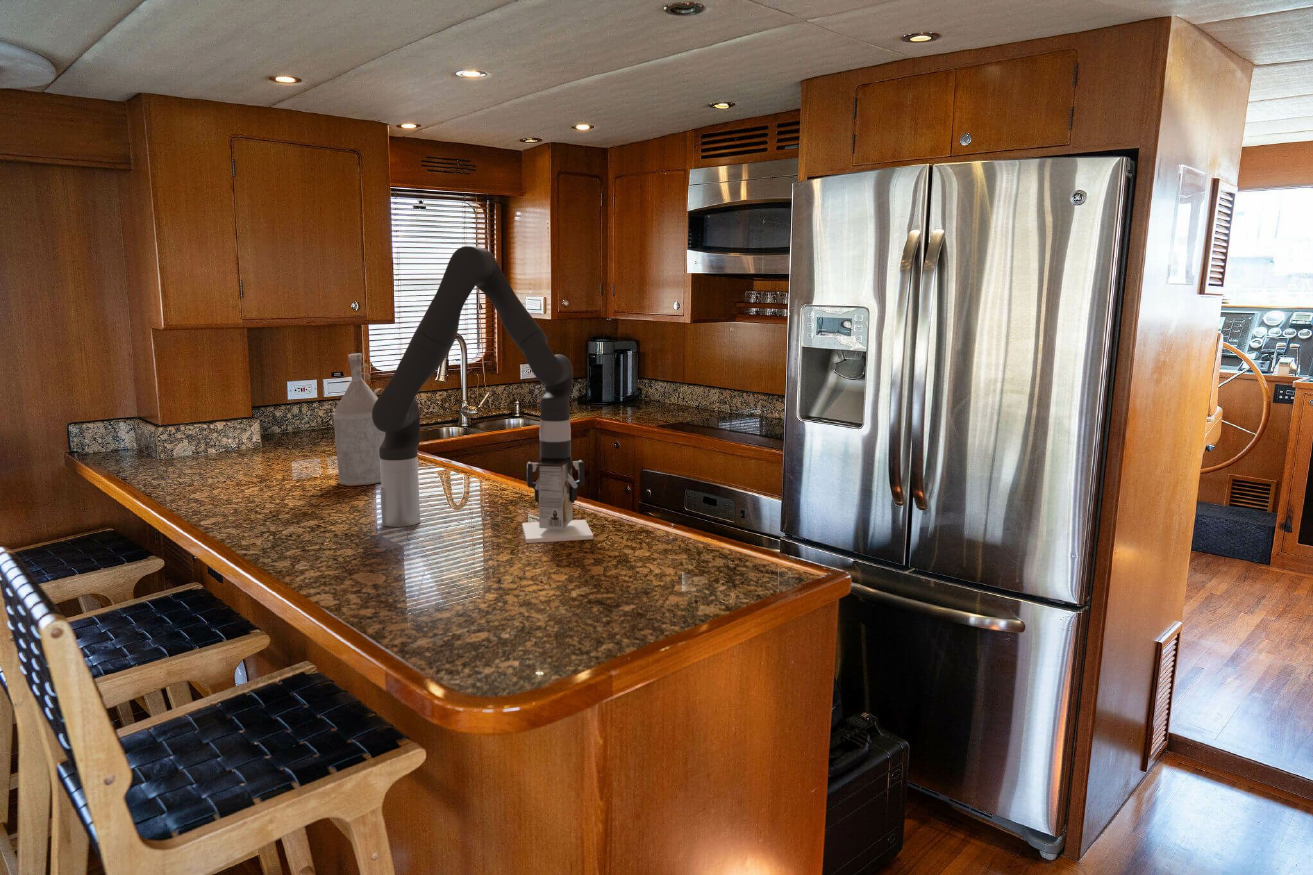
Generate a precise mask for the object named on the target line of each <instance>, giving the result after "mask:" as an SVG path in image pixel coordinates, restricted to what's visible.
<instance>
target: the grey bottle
mask: <svg viewBox="0 0 1313 875" xmlns="http://www.w3.org/2000/svg"><path fill="white" fill-rule="evenodd" d="M347 356H348V360H347V361H348V362H349V366H350V374H351V381H350V383H349V385H348V387H347V388H346V390H345V392H344V394H343V395H342V397H341V399H340V401H339V402H338V404H337V406H336V408H335V410H334V411H333V412H332V415H333V425H334V426H333V428H334V437H335V448H336V457H337V458H336V460H337V470H338V472H337V473H338V483H339V484H340V485H341V486H342V485H343V486H347V487H350V486H351V487H352V486H353V487H355V486H367V485H368V486H369V485H372V484H377V483H378V484H380V483H381V474H380V456H379V449H380V446H381V445H382V443H383V441H384V439H385V432H382V431H380V430H379V429H377V428H376V426H375V425H374V423H373V419H372V410H373V406H374V404H375V402H376V401H377V399H378V398H379V396H378V395H377V393H378V392H379V391H380V390H382V392H383V391H384V389H385V388H376V389H374V391H373V390H372V389H371V388H370V387H369V385H368V384H367V383H366V382H365V380H364V379H363V375H365V378H366V379H367V381H369V380H370V379H371V374H369V372H368V371H369V370H368V368H369V364H368V363H364V364H362V363H363V360H362V358H363V353H360V352H359V353H351V354H350V353H349V354H348V355H347ZM364 367H367V368H366V372H362V368H364Z"/></svg>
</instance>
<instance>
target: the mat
mask: <svg viewBox="0 0 1313 875" xmlns="http://www.w3.org/2000/svg"><path fill="white" fill-rule="evenodd" d="M521 525H522V527H521V528H522V532H523V535H524V539H525V543H526V544H531V543H532V544H534V543H536V544H537V543H549V542H566V541H568V542H569V541H582V540H586V541H587V540H594V534H593V532H592V530H591V528H590V526H589V524H588V522H587V520H586V519H572V520H571V521H570V523H569V524H568V525H567V526H566V527H565V528H564V529H548V528H539V521H535V522H523V523H522V524H521Z"/></svg>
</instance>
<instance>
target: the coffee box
mask: <svg viewBox="0 0 1313 875" xmlns="http://www.w3.org/2000/svg"><path fill="white" fill-rule="evenodd" d="M571 460H572V461H573V457H571ZM537 468H538V472H537V473H538V478H539V505H538V522H539V528H548V529H564V528H565V527H566V526H567V525H568V524H569V523H570V521H571V520H574V519H573V516H574V515H573V514H574V513H573V508H574V507H573V503H571V484H570V483H569V482H568V473H569V474H570V475H571V477H572V478H573V467H572V468H571V470H570V471H569V470H568V461H553V462H541V463H539V464H538V467H537Z"/></svg>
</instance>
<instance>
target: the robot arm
mask: <svg viewBox="0 0 1313 875" xmlns="http://www.w3.org/2000/svg"><path fill="white" fill-rule="evenodd" d="M475 287H476V288H477V289H479V290H480V291H481V292H482V293H483V294H484V295H485V296H486V297H487V298H488V300H489V301H490V302H491V304H492V305H493V307H494V309H495V310H496V312H497V315H498V316H499V319H500V321H501V323H502V326H503V328H504V329H505V331H506V333H507V334H508V335H509V337H510V338H511V339H512V341H513V342H514V343H515V345H516V346H517V348H518V349H519V350H520V351H521V352H522V354H523V355H524V358H525V359H526V362H527V364H528V367H530V370H531V372H532V373H533V375H534V377H535V378H536V379H537V380H538V381H539V382H541V384H543V385H545V390H544V394H543V396H542V397H541V398H540V406H539V407H540V408H539V409H540V410H539V412H540V415H539V416H540V420H539V434H538V437H539V461H538V462H532V461H527V463H526V485H527V487H528V488H530V489H533V490H534V492H533V493H534V501H535V503H537V505H538V506H539V477H538V478H537V480H536V481H533V479H534V478H533V476H534V473H533V472H536V471H537V468H538V464H539V463H541V462H553V461H568V470H569V471H570V470H571V468H572V469H573V467H574V468H575V470H576V471H577V473H578V474H577V475H578V476H577V477H578V479H577V480H574V478H573V476H572V477H571V475H570V474H569V473H568V482H569V483H570V484H571V503H572V504H575V502H576V501H578V488H579V487H581V486H582V487H583V486H584V485H585V484H586V483H585V482H586V481H585V462H584V461H583V460H582V459H579V460H574V461H573V459H572V460H571V458H572V440H571V439H572V435H571V434H572V429H571V420H570V418H571V417H570V414H571V413H570V398H571V392H572V386H573V382H574V381H573V380H574V369H573V364H572V362H571V360H570V359H569V358H568V357H567V356H565V355H563V354H554V353H553V351H552V350H551V348H550V346H549V345H548V342H549V339H548V337H547V335H546V334H545V332H544V331H543V329H542V328H541V327H540V326H539V324H538V322H536V320H535V319H534V318H533V316H532V315H531V313H530V312H529V311H528V309H526V307H525V306H524V305H523V303H522V302H521V301H520V299H519V297H518V296H517V294H516V293H515V291H514V290H513V288H512V287H511V285H510V283H509V281H508V280H507V278H506V276H505V274H504V272H503V270H502V269H501V266H500V265H499V263H498V262H497V259H496V257H495V256H494V254H492V252H491V251H489V250H488V249H486V248H484V247H482V246H481V247H480V246H475V245H474V246H473V245H464V246H461V247H459V248H458V249H457V248H456V250H455V251H454V252H453V254H452V255H451V256H450V257H449V261H448V262H447V265H446V268H445V271H444V273H443V276H442V279H441V281H440V283H439V286H438V289H437V291H436V293H435V294H434V297H433V298H432V300H431V302H430V303H429V306H427V309H426V312H425V313H424V315H423V317H422V319H421V320H420V322H419V324H418V326H417V327H416V328H415V331H414V333H413V335H412V337H411V339H410V341H409V343H408V346H406V347H407V348H406V350H405V352H404V353H403V355H402V357H401V358H400V361H399V363H398V366H397V368H396V370H395V371H394V373H393V376H392V377H391V379H390V380H389V382H388V383H387V384H386V386H385V388H383V389H384V391H383V390H382V392H381V393H380V395H379V396H378V399H377V401H376V402H375V404H374V406H373V410H372V419H373V423H374V425H375V426H376V428H377V429H379V430H380V431H382V432H385V439H384V441H383V443H382V445H381V446H380V449H379V456H380V474H381V482H380V489H379V491H380V508H381V509H380V510H381V512H380V513H381V526H382V527H391V528H402V527H404V528H405V527H410V526H414V525H417V524H419V523H420V522H421V506H420V504H421V503H420V502H421V501H420V482H419V481H420V480H419V478H420V477H419V463H418V462H419V460H418V458H419V456H418V450H419V449H418V448H419V446H420V440H421V439H420V438H421V420H420V419H421V418H420V409H419V405H418V402H417V401H416V397H417V395H418V393H419V392H420V390H421V389H422V387H423V386H424V385H425V384H426V383H427V381H428V380H429V379H430V378H431V377H432V376H433V374H434V373H436V371H437V370H438V369H439V368H440V367H441V365H442V364H443V362H444V361H445V360H446V358H447V356H448V355H449V352H450V351H451V349H452V347H453V345H454V343H455V341H456V339H457V335H458V331H459V328H460V327H459V326H460V319H461V313H462V310H463V308H464V305H465V303H466V301H467V300H468V298H469V297H470V295H471V293H472V292H473V290H474V289H475Z"/></svg>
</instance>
